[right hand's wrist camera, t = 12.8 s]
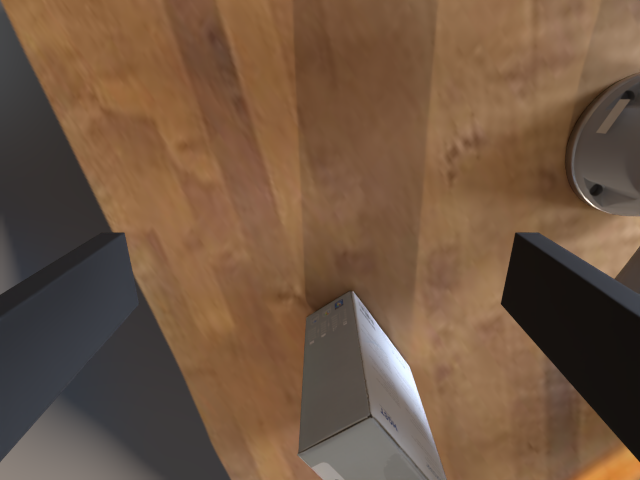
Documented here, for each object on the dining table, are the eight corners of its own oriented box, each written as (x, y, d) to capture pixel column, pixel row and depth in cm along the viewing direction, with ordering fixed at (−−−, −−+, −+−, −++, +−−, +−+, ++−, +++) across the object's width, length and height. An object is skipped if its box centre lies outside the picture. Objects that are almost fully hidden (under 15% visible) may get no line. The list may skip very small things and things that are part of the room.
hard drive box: (303, 316, 48) (293, 453, 30) (351, 287, 47) (373, 412, 28) (366, 391, 53) (391, 550, 34) (412, 367, 51) (464, 519, 33)
